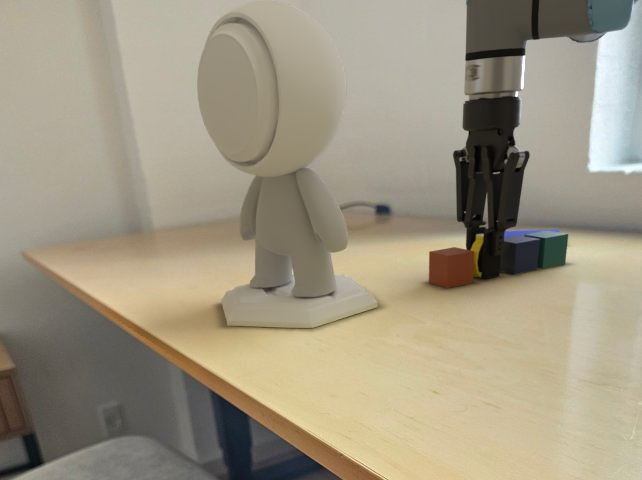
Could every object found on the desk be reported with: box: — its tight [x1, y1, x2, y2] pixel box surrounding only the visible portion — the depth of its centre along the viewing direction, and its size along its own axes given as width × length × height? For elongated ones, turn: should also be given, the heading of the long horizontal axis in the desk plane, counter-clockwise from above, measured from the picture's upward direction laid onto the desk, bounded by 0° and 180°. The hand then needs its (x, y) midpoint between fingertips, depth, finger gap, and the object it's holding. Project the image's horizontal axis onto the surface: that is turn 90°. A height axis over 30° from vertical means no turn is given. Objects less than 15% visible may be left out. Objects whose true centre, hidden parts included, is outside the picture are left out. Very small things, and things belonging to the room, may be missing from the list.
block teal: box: [524, 231, 569, 270], centre depth 101 cm, size 4×4×4 cm
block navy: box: [500, 236, 540, 275], centre depth 99 cm, size 4×4×4 cm
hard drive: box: [504, 228, 560, 238], centre depth 117 cm, size 2×8×12 cm
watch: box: [471, 234, 484, 278], centre depth 96 cm, size 6×3×6 cm, turn 133°
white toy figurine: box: [196, 0, 379, 329], centre depth 82 cm, size 20×23×35 cm
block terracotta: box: [428, 246, 474, 289], centre depth 94 cm, size 4×4×4 cm
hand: (482, 274), depth 98 cm, fingers open, 3 cm apart
